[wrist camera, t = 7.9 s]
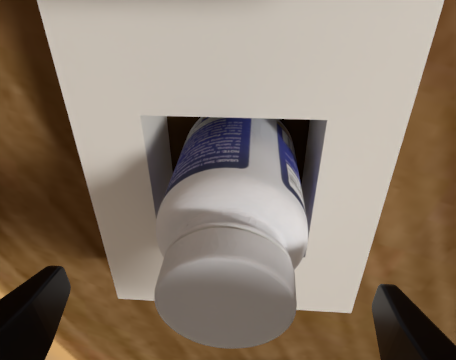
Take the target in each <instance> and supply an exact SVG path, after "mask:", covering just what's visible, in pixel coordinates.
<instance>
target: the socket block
mask: <svg viewBox="0 0 456 360" xmlns="http://www.w3.org/2000/svg"><path fill="white" fill-rule="evenodd" d="M37 3H38V7H39V10H40V14H41V18H42V21H43V25H44V29H45V32H46V36H47V40H48V43H49V47H50V51H51V54H52V58H53V62H54V65H55V69H56V72H57V76H58V80H59V83H60V87H61V91H62V94H63V98H64V102H65V105H66V109H67V113H68V116H69V120H70V124H71V127H72V131H73V135H74V138H75V142H76V146H77V149H78V153H79V157H80V160H81V164H82V168H83V171H84V175H85V179H86V182H87V186H88V190H89V193H90V197H91V201H92V204H93V208H94V212H95V215H96V219H97V223H98V226H99V230H100V234H101V237H102V241H103V245H104V248H105V252H106V256H107V259H108V263H109V267H110V270H111V274H112V278H113V281H114V285H115V289H116V292H117V296H118V299H134V300H150V301H155V300H154V293H155V287H156V283H157V279H158V276H159V273H160V269H161V266H162V263H163V260H164V257H163V256H162V253H161V251H160V249H159V246H158V243H157V238H156V220H157V216H158V212H159V208H160V205H161V202H162V200H163V197H164V195H165V192H166V190H167V187H168V184H169V182H170V180H171V177H172V175H173V170H172V161H171V152H170V142H169V133H168V124H167V116H186V117H226V118H266V119H305V120H310V123H309V131H308V138H307V146H306V154H305V161H304V169H303V176H302V184H301V189H302V195H303V200H304V205H305V211H306V216H307V224H308V244H307V248H306V251H305V254H304V256H303V259H302V260H301V262H300V264H299V265H298V266H297V268H296V269H295V270H294V272H295V285H296V301H297V308H296V310H310V311H325V312H341V313H351V312H352V309H353V305H354V302H355V299H356V295H357V292H358V289H359V285H360V282H361V279H362V275H363V272H364V268H365V265H366V262H367V258H368V255H369V252H370V248H371V245H372V242H373V238H374V235H375V231H376V228H377V225H378V221H379V218H380V215H381V211H382V208H383V205H384V201H385V198H386V194H387V191H388V188H389V184H390V181H391V178H392V174H393V171H394V168H395V164H396V161H397V158H398V154H399V151H400V147H401V144H402V141H403V137H404V134H405V131H406V127H407V124H408V121H409V117H410V114H411V110H412V107H413V104H414V100H415V97H416V94H417V90H418V87H419V84H420V80H421V77H422V73H423V70H424V67H425V63H426V60H427V57H428V53H429V50H430V47H431V43H432V40H433V36H434V33H435V30H436V26H437V23H438V20H439V16H440V13H441V10H442V6H443V3H444V0H37Z"/></svg>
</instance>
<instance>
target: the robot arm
mask: <svg viewBox="0 0 456 360" xmlns="http://www.w3.org/2000/svg"><path fill="white" fill-rule="evenodd" d="M70 288H71V287H70V283H69V280H68V277H67V275H66V272H65V269H64V268H63V267H62V266H47V267H45V268H44V269H43V270H41V271H40V272H38V273H37V274H35V275H34V276H33V277H31V278H30V279H28V280H27V281H26V282H24V283H23V284H21V285H20V286H19V287H17V288H16V289H14V290H13V291H12V292H10V293H9V294H7V295H6V296H4V297H3V298H2V299H0V360H45V358H46V356H47V353H48V351H49V349H50V347H51V344H52V342H53V339H54V337H55V334H56V331H57V328H58V326H59V323H60V320H61V317H62V314H63V311H64V308H65V305H66V302H67V300H68V297H69V294H70ZM372 312H373V318H374V324H375V329H376V335H377V341H378V346H379V352H380V358H381V360H456V346H455V344H454V343H453V342H452V341H451V340H450V339H449V338H448V337H447V336H446V335H445V334H444V333H443V332H442V331H441V330H440V329H439V328H438V327H437V326H436V325H435V324H434V323H433V322H432V321H431V320H430V319H429V318H428V317H427V316H426V315H425V314H424V313H423V312H422V311H421V310H420V309H419V308H418V307H417V306H416V305H415V304H414V303H413V302H412V301H411V300H410V299H409V298H408V297H407V296H406V295H405V294H404V293H403V292H402V291H401V290H400V289H399V288H398V287H397V286H395V285H392V284H380V285H379V286H378V288H377V291H376V294H375V297H374V300H373V303H372Z"/></svg>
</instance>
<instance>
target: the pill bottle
mask: <svg viewBox="0 0 456 360" xmlns="http://www.w3.org/2000/svg"><path fill="white" fill-rule="evenodd" d="M156 238H157V243H158V246H159V249H160V251H161V253H162V256H163V257H164V260H163V263H162V266H161V269H160V273H159V276H158V279H157V283H156V287H155V293H154V300H155V306H156V308H157V311H158V313H159V315H160V316H161V318H162V319H163V320H164V322H165V323H166V324H167V325H168V326H169V327H171V328H172V329H173V330H174V331H176V332H177V333H178V334H180V335H182V336H184V337H185V338H187V339H190V340H192V341H194V342H197V343H200V344H203V345H207V346H212V347H218V348H246V347H253V346H257V345H261V344H264V343H267V342H269V341H271V340H273V339H275V338H277V337H278V336H280V335H281V334H282V333H283V332H284V331H286V330H287V329H288V327H289V326H290V325H291V323H292V322H293V319H294V317H295V313H296V308H297V301H296V285H295V272H294V270H295V269H296V268H297V266H298V265H299V264H300V262H301V260H302V259H303V256H304V254H305V251H306V248H307V244H308V224H307V216H306V211H305V205H304V200H303V195H302V189H301V183H300V177H299V171H298V166H297V160H296V154H295V149H294V145H293V141H292V138H291V136H290V133H289V132H288V130H287V129H286V127H285V126H284V125H283V123H282V122H281V121H280V120H279V119H266V118H226V117H201V118H200V119H199V120H198V121H197V122H196V123H195V124H194V126H193V127H192V128H191V130H190V132H189V134H188V136H187V139H186V141H185V144H184V146H183V149H182V151H181V154H180V157H179V159H178V162H177V165H176V167H175V170H174V172H173V175H172V177H171V180H170V182H169V184H168V187H167V190H166V192H165V195H164V197H163V200H162V202H161V205H160V208H159V212H158V216H157V220H156Z"/></svg>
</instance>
